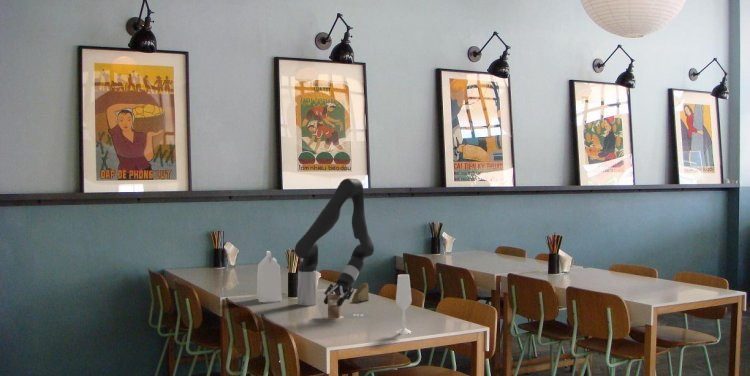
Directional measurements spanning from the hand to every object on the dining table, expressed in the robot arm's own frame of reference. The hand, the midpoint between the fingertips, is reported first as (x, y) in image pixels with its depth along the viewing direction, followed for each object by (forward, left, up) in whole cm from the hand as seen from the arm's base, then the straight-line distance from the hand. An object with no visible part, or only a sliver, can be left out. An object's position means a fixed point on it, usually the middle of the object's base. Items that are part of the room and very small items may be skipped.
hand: (331, 304), depth 336 cm
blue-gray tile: (+12, +7, -7) cm, 15 cm away
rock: (+8, +49, -7) cm, 50 cm away
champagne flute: (+35, -28, -7) cm, 45 cm away
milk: (-41, +49, -7) cm, 64 cm away
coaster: (+1, +1, -7) cm, 7 cm away
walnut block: (+1, +1, -6) cm, 6 cm away
